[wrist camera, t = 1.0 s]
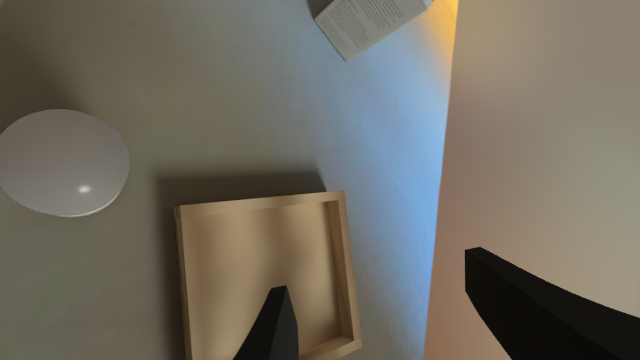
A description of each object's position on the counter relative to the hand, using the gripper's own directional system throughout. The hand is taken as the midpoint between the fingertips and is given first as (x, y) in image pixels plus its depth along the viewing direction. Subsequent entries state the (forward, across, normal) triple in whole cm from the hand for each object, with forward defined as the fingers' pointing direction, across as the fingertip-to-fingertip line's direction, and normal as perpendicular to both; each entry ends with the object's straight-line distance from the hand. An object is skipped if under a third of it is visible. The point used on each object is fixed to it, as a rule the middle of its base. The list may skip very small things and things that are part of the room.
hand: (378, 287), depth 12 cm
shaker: (+9, +16, -4) cm, 19 cm away
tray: (+11, +7, +7) cm, 15 cm away
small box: (+28, -5, -11) cm, 30 cm away
